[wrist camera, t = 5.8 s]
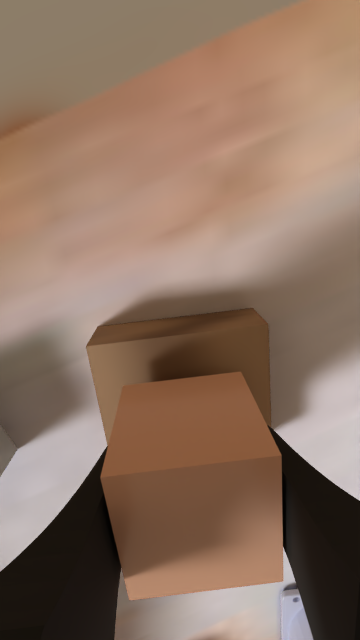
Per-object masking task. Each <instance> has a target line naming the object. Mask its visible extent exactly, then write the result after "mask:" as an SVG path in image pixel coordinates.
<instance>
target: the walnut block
mask: <svg viewBox="0 0 360 640" xmlns="http://www.w3.org/2000/svg"><path fill="white" fill-rule="evenodd" d="M86 349H87V353H88V358H89V363H90V367H91V372H92V376H93V381H94V385H95V390H96V395H97V399H98V404H99V408H100V413H101V417H102V422H103V426H104V431H105V436H106V440H107V445H108V444H109V440H110V436H111V432H112V428H113V424H114V420H115V416H116V412H117V408H118V404H119V400H120V396H121V392H122V388H123V386H124V385H132V384H141V383H149V382H157V381H166V380H174V379H182V378H191V377H199V376H207V375H216V374H224V373H232V372H241V373H242V375H243V377H244V379H245V381H246V383H247V385H248V387H249V389H250V391H251V393H252V395H253V397H254V399H255V401H256V404H257V406H258V408H259V410H260V412H261V414H262V416H263V418H264V420H265V422H266V424H267V425H269V426H270V427H271V401H270V366H269V330H268V323H267V322H266V321H265V320H264V319H263V318H262V317H261V316H260V315H259V314H258V313H257V312H256V311H255V310H254V309H253V308H249V309H241V310H232V311H224V312H215V313H207V314H199V315H190V316H182V317H174V318H165V319H157V320H149V321H140V322H132V323H124V324H115V325H107V326H99V327H97V329H96V330H95V332H94V334H93V335H92V337H91V339H90V340H89V342H88V344H87V346H86Z"/></svg>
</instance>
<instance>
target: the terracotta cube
mask: <svg viewBox="0 0 360 640" xmlns="http://www.w3.org/2000/svg"><path fill="white" fill-rule="evenodd" d="M100 478H101V483H102V487H103V491H104V495H105V500H106V504H107V508H108V512H109V517H110V521H111V525H112V529H113V534H114V538H115V542H116V546H117V550H118V555H119V559H120V563H121V567H122V572H123V576H124V580H125V584H126V589H127V593H128V597H129V600H137V599H145V598H154V597H162V596H170V595H178V594H186V593H194V592H202V591H210V590H218V589H226V588H234V587H242V586H250V585H258V584H266V583H274V582H282V581H283V523H282V455H281V453H280V451H279V449H278V447H277V445H276V443H275V441H274V439H273V437H272V435H271V432H270V430H269V428H268V426H267V424H266V422H265V420H264V418H263V416H262V414H261V412H260V410H259V408H258V406H257V404H256V401H255V399H254V397H253V395H252V393H251V391H250V389H249V387H248V385H247V383H246V381H245V379H244V377H243V375H242V373H241V372H232V373H224V374H216V375H207V376H199V377H191V378H182V379H174V380H166V381H157V382H149V383H141V384H132V385H124V386H123V388H122V392H121V396H120V400H119V404H118V408H117V412H116V416H115V420H114V424H113V428H112V432H111V436H110V440H109V444H108V448H107V452H106V456H105V460H104V464H103V468H102V472H101V477H100Z"/></svg>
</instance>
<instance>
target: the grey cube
mask: <svg viewBox="0 0 360 640" xmlns="http://www.w3.org/2000/svg"><path fill="white" fill-rule="evenodd" d="M16 451H17V448H16V446H15V445H14V443H13V442H12V440H11V439H10V437H9V436H8V434H7V433H6V431H5V430H4V428H3V427H2V425H1V424H0V476H1V475H2V473H3V472H4V470H5V468H6V467H7V465H8V464H9V462H10V461H11V459H12V457H13V456H14V454H15V453H16Z"/></svg>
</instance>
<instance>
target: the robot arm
mask: <svg viewBox="0 0 360 640" xmlns="http://www.w3.org/2000/svg"><path fill="white" fill-rule="evenodd" d="M267 426H268V428H269V430H270V432H271V435H272V437H273V439H274V441H275V443H276V445H277V447H278V449H279V451H280V453H281V455H282V523H283V547H284V550H285V552H286V555H287V557H288V560H289V563H290V565H291V568H292V571H293V574H294V578H295V581H296V584H297V587H298V589H292V590H285V591H283V592H282V593H281V595H280V603H281V640H360V501H359V500H358V499H356V498H354V497H353V496H351V495H350V494H348V493H347V492H345V491H344V490H343V489H341V488H340V487H338V486H337V485H335V484H334V483H333V482H331V481H330V480H329V479H327V478H326V477H325V476H324V475H322V474H321V473H320V472H319V471H317V470H316V469H315V468H314V467H312V466H311V465H310V464H309V463H308V462H307V461H306V460H304V459H303V458H302V457H301V456H300V455H299V454H298V453H297V452H295V451H294V450H293V449H292V448H291V447H290V446H289V445H288V444H287V443H286V442H285V441H284V440H283V439H282V438H281V437H280V436H279V435H278V434H277V433H276V432H275V431H274V430H273V429H272V428H271V427H270V426H269V425H267ZM107 448H108V446H107V447H106V449H105V450H104V452H103V453H102V455H101V456H100V458H99V460H98V461H97V463H96V464H95V466H94V467H93V469H92V470H91V472H90V473H89V475H88V476H87V477H86V479H85V480H84V482H83V483H82V484H81V486H80V487H79V489H78V490H77V491H76V493H75V494H74V495H73V496H72V498H71V499H70V500H69V502H68V503H67V504H66V505H65V507H64V508H63V509H62V510H61V512H60V513H59V514H58V515H57V516H56V517H55V519H54V520H53V521H52V522H51V523H50V524H49V525H48V526H47V528H46V529H45V530H44V531H43V532H42V533H41V534H40V535H39V536H38V537H37V538H36V539H35V540H34V541H33V542H32V543H31V544H30V545H29V546H28V547H27V548H26V549H25V550H24V551H23V552H22V553H21V554H20V555H19V556H17V557H16V558H15V559H14V560H13V561H12V562H11V563H10V564H9V565H7V566H6V567H5V568H4V569H3V570H2V571H1V572H0V640H114V634H115V620H116V608H117V596H118V587H119V579H120V572H121V563H120V559H119V555H118V550H117V546H116V542H115V538H114V534H113V529H112V525H111V521H110V517H109V512H108V508H107V504H106V500H105V495H104V491H103V487H102V483H101V478H100V477H101V472H102V468H103V464H104V460H105V456H106V452H107Z"/></svg>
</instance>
